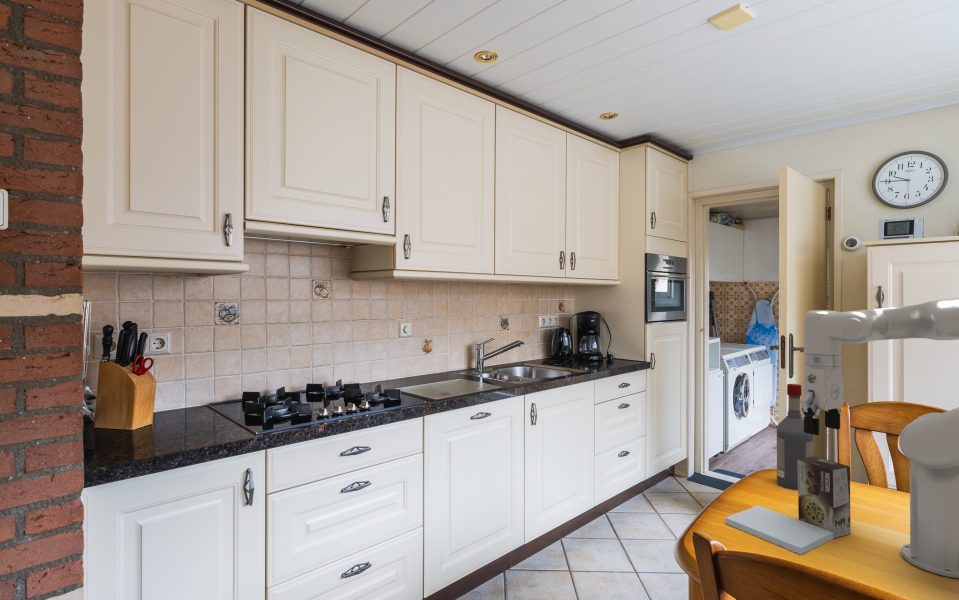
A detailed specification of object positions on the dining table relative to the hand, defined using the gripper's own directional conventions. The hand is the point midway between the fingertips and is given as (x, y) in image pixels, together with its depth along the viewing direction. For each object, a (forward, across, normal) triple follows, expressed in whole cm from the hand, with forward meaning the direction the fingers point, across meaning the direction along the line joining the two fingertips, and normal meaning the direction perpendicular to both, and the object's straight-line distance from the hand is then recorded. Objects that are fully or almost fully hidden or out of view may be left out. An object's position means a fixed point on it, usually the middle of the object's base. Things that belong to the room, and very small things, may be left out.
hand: (822, 430), depth 124 cm
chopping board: (+24, -11, +5) cm, 27 cm away
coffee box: (+24, 0, 0) cm, 24 cm away
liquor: (+24, +23, +18) cm, 38 cm away
